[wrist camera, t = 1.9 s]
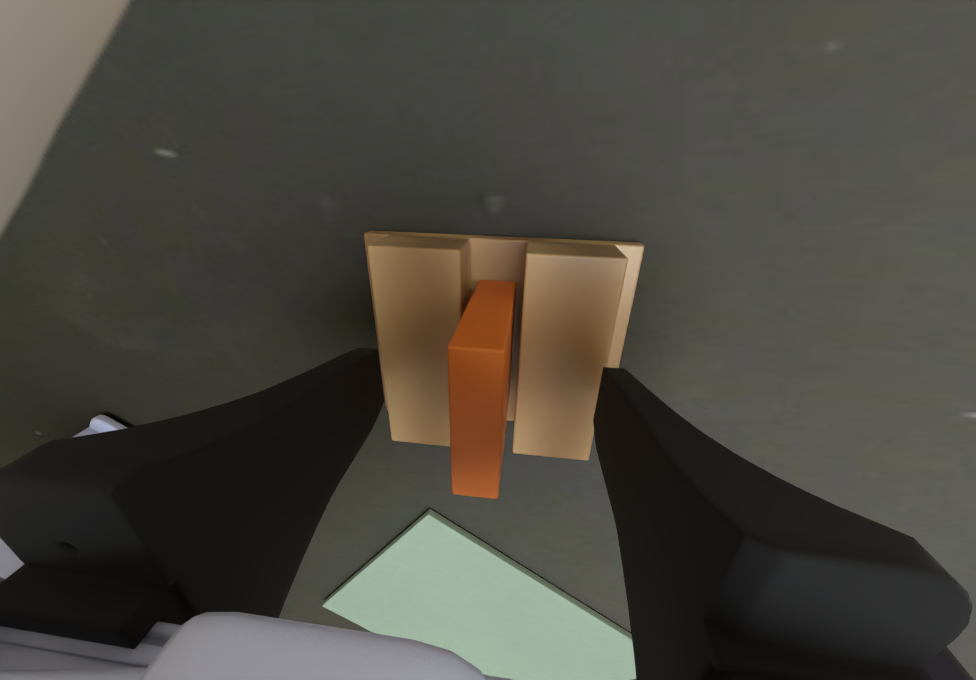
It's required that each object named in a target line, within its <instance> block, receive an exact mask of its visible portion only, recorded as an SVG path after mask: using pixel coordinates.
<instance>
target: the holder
mask: <svg viewBox="0 0 976 680" xmlns="http://www.w3.org/2000/svg"><path fill="white" fill-rule="evenodd" d="M364 241H365V249H366V256H367V264H368V272H369V279H370V287H371V295H372V303H373V310H374V318H375V326H376V333H377V341H378V349H379V356H380V364H381V372H382V380H383V387H384V395H385V403H386V409H388V413H389V421H390V429H391V436H392V440H393V441H401V442H411V443H421V444H431V445H441V446H450V419H449V388H448V358H447V347H448V345H449V343H450V341H451V339H452V337H453V335H454V333H455V330H456V328H457V326H458V324H459V322H460V320H461V318H462V316H463V313H464V311H465V309H466V307H467V305H468V303H469V301H470V299H471V297H472V294H473V292H474V290H475V288H476V286H477V284H478V282H479V280H491V281H509V282H515V283H516V293H515V310H514V327H513V344H512V361H511V378H510V394H509V403H508V412H507V420H511V421H514V435H513V449H512V451H513V453H518V454H528V455H537V456H547V457H557V458H567V459H577V460H588V459H589V455H590V450H591V445H592V439H593V434H594V424H593V418H594V413H595V408H596V402H597V397H598V392H599V387H600V382H601V376H602V371H603V367H611V368H619V364H620V359H621V354H622V350H623V345H624V341H625V336H626V331H627V327H628V322H629V317H630V313H631V308H632V303H633V299H634V294H635V289H636V285H637V280H638V276H639V271H640V266H641V262H642V257H643V252H644V248H645V247H644V245H643V244H641V243H640V242H620V241H597V240H575V239H552V238H530V237H507V236H485V235H462V234H439V233H417V232H394V231H372V230H370V231H368V232H365V233H364Z"/></svg>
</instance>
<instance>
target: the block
mask: <svg viewBox="0 0 976 680" xmlns="http://www.w3.org/2000/svg"><path fill="white" fill-rule="evenodd" d="M515 293H516V283H515V282H509V281H491V280H479V282H478V284H477V286H476V288H475V290H474V292H473V294H472V297H471V299H470V301H469V303H468V305H467V307H466V309H465V311H464V313H463V316H462V318H461V320H460V322H459V324H458V326H457V328H456V330H455V333H454V335H453V337H452V339H451V341H450V343H449V345H448V347H447V358H448V388H449V419H450V450H451V480H452V493H453V494H457V495H466V496H475V497H484V498H492V499H497V498H498V495H499V486H500V477H501V467H502V458H503V449H504V440H505V431H506V422H507V412H508V403H509V394H510V378H511V361H512V344H513V327H514V310H515Z"/></svg>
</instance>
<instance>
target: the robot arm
mask: <svg viewBox="0 0 976 680" xmlns="http://www.w3.org/2000/svg"><path fill="white" fill-rule="evenodd" d="M383 403H384V394H383V387H382V379H381V372H380V364H379V356H378V349H366V348H358V349H355V350H353V351H350V352H348V353H345V354H343V355H341V356H339V357H337V358H334V359H332V360H330V361H328V362H326V363H324V364H322V365H320V366H318V367H315V368H313V369H311V370H309V371H307V372H305V373H303V374H300V375H298V376H296V377H293V378H291V379H289V380H286V381H284V382H282V383H280V384H277V385H275V386H273V387H270V388H268V389H265V390H262V391H260V392H257V393H255V394H252V395H249V396H246V397H243V398H240V399H237V400H234V401H231V402H228V403H225V404H222V405H218V406H215V407H211V408H208V409H204V410H201V411H197V412H194V413H190V414H187V415H183V416H179V417H175V418H171V419H166V420H162V421H158V422H153V423H149V424H144V425H139V426H135V427H130V428H128V427H126V426H124V425H122V424H120V423H119V422H117V421H115V420H113V419H112V418H110V417H108V416H106V415H98V416H96V417H94V418H93V419H92V420H91V422H90V426H89V428H87V429H85V430H83V431H82V432H80V433H78V434H76V435H75V436H73V437H71V438H66V439H59V440H53V441H50V442H48V443H46V444H44V445H41V446H39V447H37V448H36V449H34V450H32V451H30V452H29V453H27V454H25V455H24V456H22V457H20V458H18V459H17V460H15V461H13V462H11V463H10V464H8V465H6V466H4V467H3V468H1V469H0V680H513V679H507V678H501V677H495V676H489V675H483V674H482V672H481V671H480V669H478V668H477V667H475V666H474V665H472V664H471V663H469V662H468V661H466V660H465V659H463V658H462V657H460V656H459V655H457V654H456V653H454V652H453V651H450V650H447V649H444V648H440V647H437V646H433V645H430V644H427V643H423V642H420V641H416V640H413V639H407V638H400V637H394V636H388V635H381V634H375V633H369V632H362V631H356V630H350V629H343V628H337V627H330V626H324V625H318V624H311V623H305V622H299V621H292V620H286V619H280V618H279V615H280V613H281V610H282V607H283V605H284V602H285V600H286V597H287V595H288V592H289V590H290V588H291V585H292V583H293V580H294V578H295V576H296V573H297V571H298V568H299V566H300V563H301V561H302V559H303V556H304V554H305V552H306V550H307V548H308V545H309V543H310V541H311V539H312V536H313V534H314V532H315V530H316V527H317V525H318V523H319V521H320V519H321V517H322V515H323V513H324V511H325V509H326V507H327V505H328V502H329V500H330V498H331V496H332V495H333V493H334V491H335V489H336V487H337V486H338V484H339V482H340V480H341V479H342V477H343V476H344V474H345V472H346V471H347V469H348V468H349V466H350V464H351V463H352V461H353V459H354V458H355V456H356V455H357V453H358V451H359V450H360V448H361V447H362V445H363V443H364V442H365V440H366V438H367V437H368V435H369V433H370V432H371V430H372V428H373V426H374V424H375V422H376V420H377V418H378V415H379V413H380V410H381V408H382V405H383ZM593 424H594V433H595V441H596V449H597V453H598V457H599V461H600V465H601V469H602V473H603V476H604V480H605V484H606V488H607V491H608V495H609V499H610V503H611V507H612V510H613V514H614V519H615V523H616V528H617V533H618V539H619V546H620V552H621V559H622V565H623V572H624V580H625V587H626V594H627V601H628V609H629V617H630V626H631V634H632V642H633V651H634V660H635V669H636V679H637V680H933V679H932V678H931V677H930V675H929V674H928V673H927V671H926V670H925V669H924V668H923V666H924V665H925V664H926V663H928V662H929V661H930V660H931V659H932V658H933V657H935V656H936V655H937V654H938V653H939V652H940V651H942V650H943V649H944V648H945V647H946V646H947V645H949V644H950V643H951V642H952V641H953V640H954V639H956V638H957V637H958V636H959V635H960V633H961V632H962V631H963V630H964V629H965V627H966V626H967V625H968V622H969V619H970V615H971V611H972V603H971V601H970V598H969V595H968V592H967V591H966V590H965V589H964V588H963V587H962V586H961V585H960V584H959V583H958V582H957V581H956V580H955V579H954V578H953V577H952V576H951V575H950V574H949V573H948V572H947V571H946V570H945V569H944V568H943V567H942V566H941V565H940V564H939V563H938V562H937V561H936V560H935V559H934V558H933V557H932V556H931V555H930V554H929V553H928V552H927V551H926V550H925V549H924V548H923V547H922V546H921V545H920V544H919V543H918V542H917V541H916V540H915V539H914V538H913V537H911V536H908V535H906V534H903V533H901V532H898V531H896V530H894V529H891V528H889V527H886V526H884V525H882V524H879V523H877V522H874V521H872V520H869V519H867V518H865V517H862V516H860V515H857V514H855V513H853V512H850V511H848V510H845V509H843V508H841V507H838V506H836V505H834V504H832V503H830V502H827V501H825V500H823V499H821V498H819V497H817V496H815V495H813V494H810V493H808V492H806V491H804V490H802V489H800V488H798V487H796V486H794V485H792V484H790V483H788V482H786V481H784V480H782V479H780V478H778V477H776V476H774V475H772V474H771V473H769V472H767V471H765V470H763V469H761V468H760V467H758V466H756V465H754V464H752V463H751V462H749V461H747V460H745V459H744V458H742V457H740V456H738V455H737V454H735V453H733V452H732V451H730V450H729V449H727V448H726V447H724V446H722V445H721V444H719V443H718V442H716V441H715V440H713V439H712V438H710V437H708V436H707V435H706V434H704V433H703V432H701V431H700V430H698V429H697V428H696V427H694V426H693V425H692V424H690V423H689V422H688V421H686V420H685V419H684V418H682V417H681V416H680V415H678V414H677V413H676V412H675V411H673V410H672V409H671V408H670V407H668V406H667V405H666V404H665V403H664V402H662V401H661V400H660V399H659V398H658V397H656V396H655V395H654V394H653V393H652V392H651V391H650V390H648V389H647V388H646V387H645V386H644V385H643V384H642V383H641V382H639V381H638V380H637V379H636V378H635V377H634V376H633V375H631V374H630V373H629V372H628V371H626V370H625V369H623V368H611V367H603V371H602V376H601V382H600V387H599V392H598V397H597V402H596V408H595V413H594V418H593Z"/></svg>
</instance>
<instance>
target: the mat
mask: <svg viewBox="0 0 976 680" xmlns="http://www.w3.org/2000/svg"><path fill="white" fill-rule="evenodd" d="M322 606H323V607H325V608H327V609H329V610H331V611H333V612H335V613H337V614H339V615H340V616H342V617H344V618H346V619H348V620H350V621H352V622H354V623H356V624H358V625H360V626H362V627H364V628H366V629H367V630H369V631H371V632H373V633H375V634H381V635H388V636H394V637H400V638H407V639H413V640H416V641H420V642H423V643H427V644H430V645H433V646H437V647H440V648H444V649H447V650H450V651H453V652H454V653H456V654H457V655H459V656H460V657H462V658H463V659H465V660H466V661H468V662H469V663H471V664H472V665H474V666H475V667H477V668H478V669H480V671H481V672H482V674H483V675H489V676H495V677H501V678H507V679H513V680H632V679H634V678H636V669H635V660H634V651H633V642H632V634H631V633H629V632H628V631H626V630H624V629H623V628H621V627H620V626H618V625H616V624H615V623H613V622H611V621H610V620H608V619H607V618H605V617H603V616H602V615H600V614H599V613H597V612H595V611H594V610H592V609H591V608H589V607H587V606H586V605H584V604H583V603H581V602H579V601H578V600H576V599H574V598H573V597H571V596H570V595H568V594H566V593H565V592H563V591H562V590H560V589H558V588H557V587H555V586H554V585H552V584H550V583H549V582H547V581H546V580H544V579H542V578H541V577H539V576H537V575H536V574H534V573H533V572H531V571H529V570H528V569H526V568H525V567H523V566H521V565H520V564H518V563H517V562H515V561H513V560H512V559H510V558H509V557H507V556H505V555H504V554H502V553H500V552H499V551H497V550H496V549H494V548H492V547H491V546H489V545H488V544H486V543H484V542H483V541H481V540H480V539H478V538H476V537H475V536H473V535H472V534H470V533H468V532H467V531H465V530H463V529H462V528H460V527H459V526H457V525H455V524H454V523H452V522H451V521H449V520H447V519H446V518H444V517H443V516H441V515H439V514H438V513H436V512H434V511H433V510H431V509H429V510H428V511H427V512H426V513H424V514H423V515H422V516H421V517H420V518H419V519H418V520H416V521H415V522H414V523H413V524H412V525H411V526H409V527H408V528H407V529H406V530H405V531H404V532H403V533H401V534H400V535H399V536H398V537H397V538H396V539H395V540H393V541H392V542H391V543H390V544H389V545H388V546H386V547H385V548H384V549H383V550H382V551H381V552H380V553H378V554H377V555H376V556H375V557H374V558H373V559H372V560H370V561H369V562H368V563H367V564H366V565H365V566H363V567H362V568H361V569H360V570H359V571H358V572H357V573H355V574H354V575H353V576H352V577H351V578H350V579H349V580H347V581H346V582H345V583H344V584H343V585H342V586H340V587H339V588H338V589H337V590H336V591H335V592H334V593H332V594H331V595H330V596H329V597H328V598H327V599H325V600H324V602H323V604H322Z"/></svg>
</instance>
